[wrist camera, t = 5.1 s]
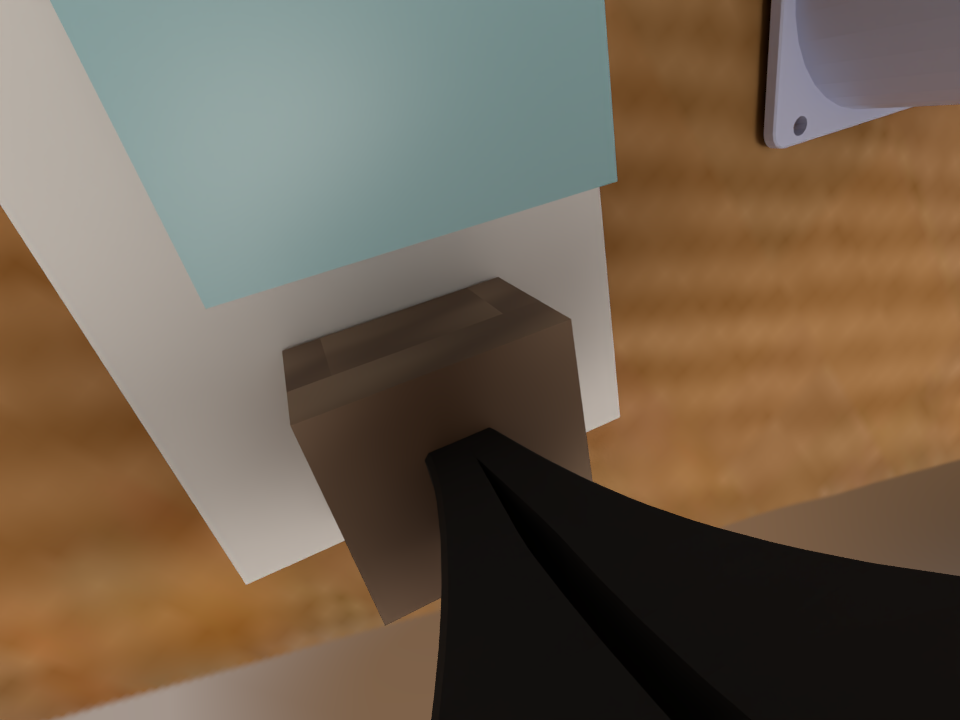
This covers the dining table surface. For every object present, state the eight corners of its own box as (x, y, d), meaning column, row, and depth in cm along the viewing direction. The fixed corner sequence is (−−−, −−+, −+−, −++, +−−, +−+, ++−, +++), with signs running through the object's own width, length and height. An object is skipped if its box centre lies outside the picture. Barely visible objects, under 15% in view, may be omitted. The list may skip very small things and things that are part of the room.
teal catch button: (444, -221, 7) (570, -463, 4) (509, 168, 9) (617, 180, 6) (21, -192, 5) (-209, -516, 3) (223, 249, 8) (205, 308, 5)
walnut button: (498, 277, 12) (571, 318, 9) (531, 445, 14) (597, 519, 11) (282, 350, 10) (289, 425, 8) (358, 521, 13) (385, 625, 10)
